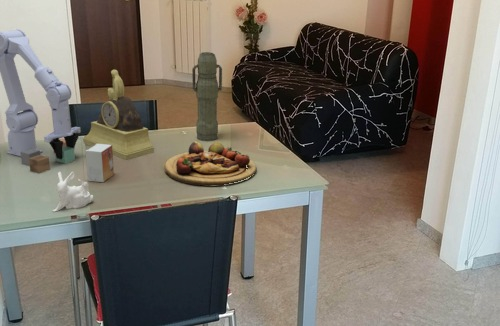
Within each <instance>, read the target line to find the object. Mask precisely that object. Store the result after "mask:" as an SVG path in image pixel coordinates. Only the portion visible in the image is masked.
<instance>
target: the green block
mask: <svg viewBox="0 0 500 326" xmlns="http://www.w3.org/2000/svg"><path fill="white" fill-rule="evenodd" d="M54 154H55V153H54ZM62 155H63V156H62V159H58V158H57V157H56V154H55V155H54V156H55V162H57V163H61V164H64V165H65V164H68V163H72V162H74V161H75V160H76V157H75V148H71V147H67V146H64V147H62Z"/></svg>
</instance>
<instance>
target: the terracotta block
mask: <svg viewBox="0 0 500 326" xmlns="http://www.w3.org/2000/svg"><path fill="white" fill-rule="evenodd" d="M59 140H60V141H63V146H62V147H64V146H66V142H65V139H64V138H59ZM53 153H54V154H55V152H54V151H53Z"/></svg>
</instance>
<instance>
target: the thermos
mask: <svg viewBox="0 0 500 326" xmlns="http://www.w3.org/2000/svg"><path fill="white" fill-rule="evenodd" d="M217 62H218V60H217V57H216V54H215V53H213V52H208V51H206V52H201V53H199V55H198V58H197V63H196V64H195V65H194V66H193V67H192V71H191V72H192V73H191V74H192V76H191V77H192V79H191V80H192V90H193V91H194V92H195V93H196V98H197V120H196V129H195V131H196V139H197V140H199V141H202V142H211V141H212V142H213V141H216V140H218V133H219V123H218V119H217V117H218V115H217V114H218V111H217V110H218V107H217V106H218V105H217V104H218V103H217V102H218V97H219V92H220V91H221V92H222V89H223V68H222V66H221V65H220V64H218V63H217ZM196 69H197V80H196ZM217 69H219V70H217ZM217 72H218V77H217ZM217 78H218V79H217Z"/></svg>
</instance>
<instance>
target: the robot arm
mask: <svg viewBox="0 0 500 326" xmlns="http://www.w3.org/2000/svg"><path fill="white" fill-rule="evenodd" d="M16 55H19V56H20V57H21V58H22V59H23V61H25V63H27V65H28V66H29V67H30V68H31V69H32V70H33V72H34V79H36V81H38V82H37V83H39V84H40V85H41V87H42V88H43V90H44V91H45V93H46V94H45V97H46V100H47V101H48V103H49V107H50V109H51V116H52V126H53V132H50V133H48V134H47V135H44V136H43V139H44V142H45V143H48V144H49V145H50V147H51V148H52V149H53V153H54V152H55V153H54V154H56V155H55V158H56V157H57V158H58V159H62V156H63V155H62V146H63V141H60V140H59V139H65V142H66V146H67V147H71V148H74V149H75V147H76V145H77V141H78V139H79V135H78V134H80V133H81V132H82V131H81V127H80V126H74V127H72V125H71V117H70V116H71V115H70V105H69V100H70V99H71V98H72V91H71V88H70V86H69V85H68V84H67V83H64V82H63V81H60V79H58V77H57V76H56V75H55V73H54V72H53V70H52V68H50V67H48V66H45V65H43V63H42V62H41V60H40V59H39V57H38V56H37V54H36V53H35V51H34V50H33V48H32V46H31V45H30V39H29V37H28V36H27V34H26V33H25V32H24V31H23V30H21V29H16V30H4V31H0V76H1V79H2V82H3V87H4V90H5V94H6V96H7V100H8V103H9V107H7V108H6V111H5V112H4V113H5V119H6V120H5V122H6V123H5V124H6V125H7V128H8V129H9V131H8V133H7V142H8V148H9V150H8V151H7V153H8V154H9V155H13V156H17V157H21V154H20V152H21V151H24V150H27V149H31V148H32V149H36V150H39V151H40V153H42V152H43V150H42V149H37V140H36V133H35V129H36V125H37V124H38V122H39V117H38V115H37V113H36V110H34V107H33V105H32V104H30V103H28V102H26V101H27V100H26V98H25V94H24V91H23V86H22V84H21V80H20V76H19V73H18V69H17V66H16V63H15V57H16Z"/></svg>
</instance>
